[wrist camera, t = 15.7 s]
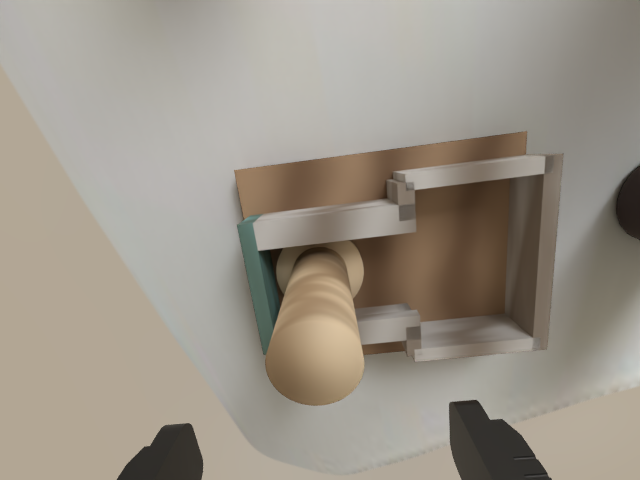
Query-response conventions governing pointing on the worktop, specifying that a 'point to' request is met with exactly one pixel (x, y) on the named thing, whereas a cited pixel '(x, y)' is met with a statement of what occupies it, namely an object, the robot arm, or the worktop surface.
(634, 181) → the bottle
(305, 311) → the keyhole peg
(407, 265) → the brown shallow boxy piece
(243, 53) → the worktop surface
